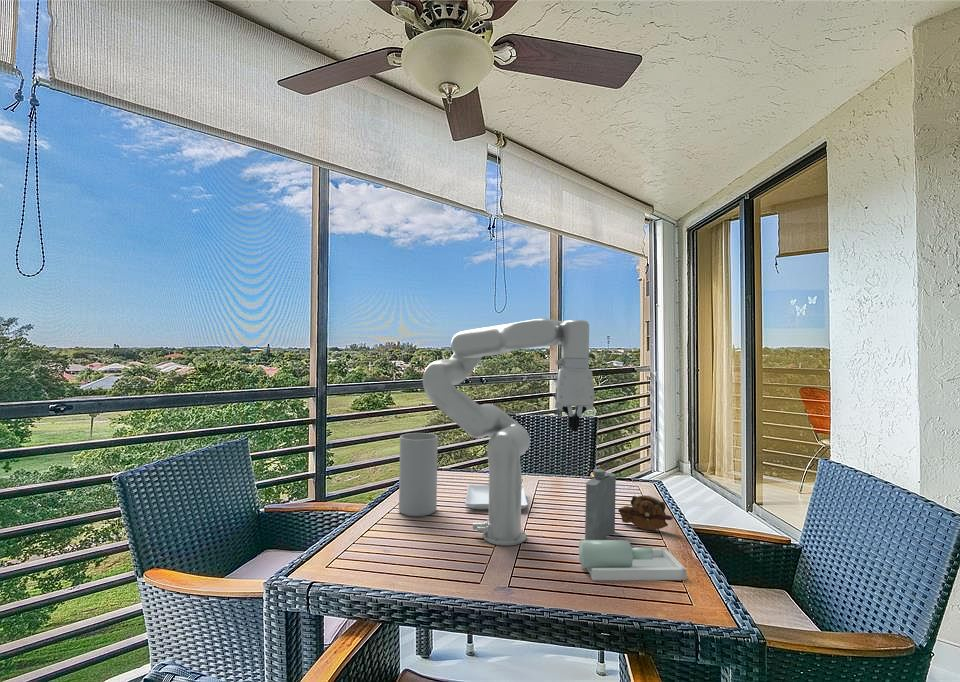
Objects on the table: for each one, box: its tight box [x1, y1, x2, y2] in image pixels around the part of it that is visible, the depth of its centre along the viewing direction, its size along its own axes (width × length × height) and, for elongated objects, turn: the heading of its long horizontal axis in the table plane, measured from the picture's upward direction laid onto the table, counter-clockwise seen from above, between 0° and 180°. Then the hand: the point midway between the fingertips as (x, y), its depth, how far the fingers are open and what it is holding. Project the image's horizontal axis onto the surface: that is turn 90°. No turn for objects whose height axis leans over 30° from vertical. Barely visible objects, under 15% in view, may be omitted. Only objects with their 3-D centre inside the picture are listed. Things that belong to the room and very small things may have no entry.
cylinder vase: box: [398, 432, 439, 518], centre depth 171 cm, size 12×12×25 cm
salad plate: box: [464, 484, 529, 511], centre depth 181 cm, size 21×21×3 cm
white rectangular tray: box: [585, 547, 688, 581], centre depth 130 cm, size 23×13×2 cm, turn 93°
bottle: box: [578, 539, 654, 568], centre depth 130 cm, size 6×6×18 cm
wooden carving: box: [618, 495, 674, 531], centre depth 158 cm, size 16×5×10 cm, turn 64°
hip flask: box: [584, 468, 617, 540], centre depth 150 cm, size 16×4×20 cm, turn 142°
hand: (573, 430), depth 142 cm, fingers closed
